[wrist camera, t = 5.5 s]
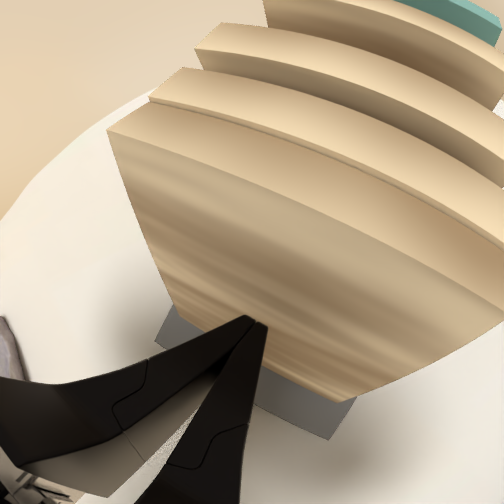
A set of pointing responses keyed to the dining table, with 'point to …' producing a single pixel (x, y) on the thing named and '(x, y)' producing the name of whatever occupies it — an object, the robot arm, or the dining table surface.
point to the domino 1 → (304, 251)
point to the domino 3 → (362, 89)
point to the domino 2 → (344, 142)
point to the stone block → (9, 354)
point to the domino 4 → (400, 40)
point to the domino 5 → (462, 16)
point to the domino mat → (271, 387)
